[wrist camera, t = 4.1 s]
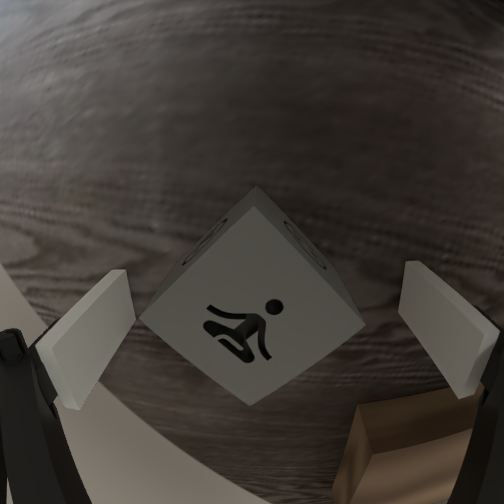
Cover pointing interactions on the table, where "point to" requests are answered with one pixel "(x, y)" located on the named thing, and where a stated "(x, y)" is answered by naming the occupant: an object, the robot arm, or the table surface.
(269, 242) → the dice cube
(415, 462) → the brown flat block
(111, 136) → the table surface
